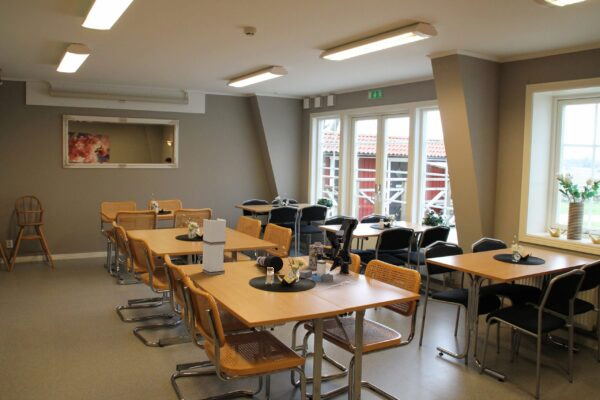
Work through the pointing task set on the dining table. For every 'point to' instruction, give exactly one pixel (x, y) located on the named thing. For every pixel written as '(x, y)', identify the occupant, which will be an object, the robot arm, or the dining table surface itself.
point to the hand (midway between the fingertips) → (324, 270)
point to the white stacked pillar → (213, 246)
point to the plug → (321, 267)
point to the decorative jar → (313, 251)
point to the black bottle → (271, 262)
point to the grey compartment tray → (314, 277)
